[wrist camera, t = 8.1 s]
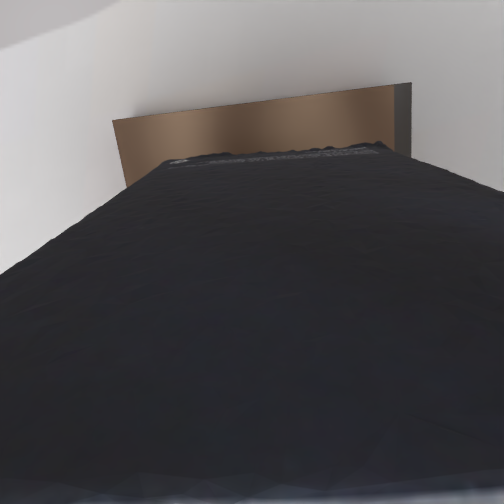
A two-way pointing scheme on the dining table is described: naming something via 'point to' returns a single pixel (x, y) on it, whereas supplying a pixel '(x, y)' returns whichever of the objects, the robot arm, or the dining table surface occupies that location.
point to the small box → (262, 338)
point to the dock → (268, 127)
